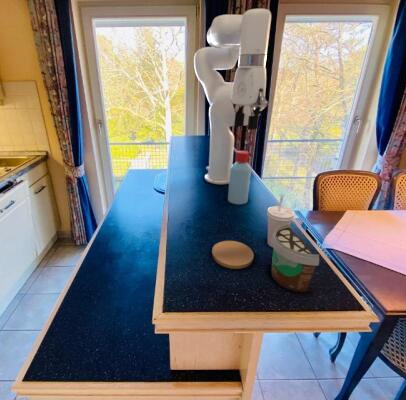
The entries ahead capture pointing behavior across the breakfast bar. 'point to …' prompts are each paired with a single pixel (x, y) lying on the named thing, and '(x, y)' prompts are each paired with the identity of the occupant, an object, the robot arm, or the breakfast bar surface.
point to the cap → (242, 156)
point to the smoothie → (278, 218)
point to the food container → (292, 260)
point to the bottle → (239, 183)
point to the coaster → (232, 254)
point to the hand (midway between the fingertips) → (245, 127)
